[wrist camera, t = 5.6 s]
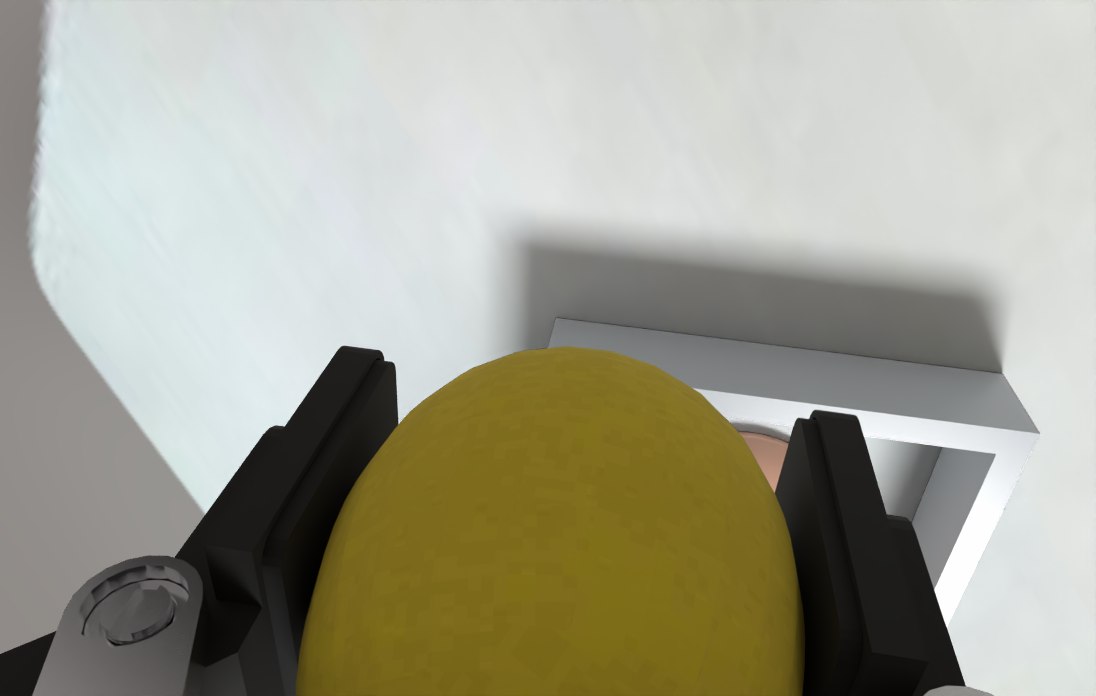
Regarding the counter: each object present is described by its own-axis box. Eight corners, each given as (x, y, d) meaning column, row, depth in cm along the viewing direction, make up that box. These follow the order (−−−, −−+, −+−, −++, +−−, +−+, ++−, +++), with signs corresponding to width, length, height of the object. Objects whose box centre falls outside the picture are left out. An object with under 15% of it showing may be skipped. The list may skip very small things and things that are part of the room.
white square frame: (555, 317, 30) (542, 368, 27) (1003, 374, 29) (1040, 434, 26) (532, 609, 38) (520, 672, 35) (877, 664, 37) (894, 734, 34)
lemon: (366, 420, 14) (61, 967, 7) (549, 171, 11) (329, 687, 4) (625, 578, 15) (571, 1184, 8) (851, 390, 12) (1054, 1073, 5)
